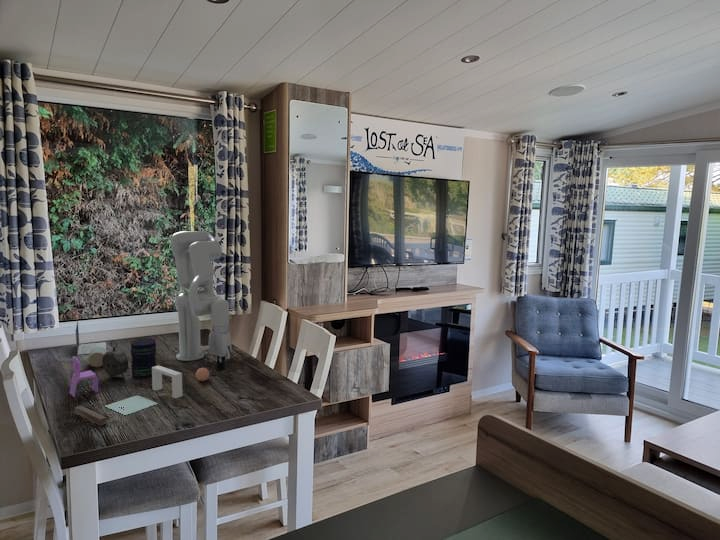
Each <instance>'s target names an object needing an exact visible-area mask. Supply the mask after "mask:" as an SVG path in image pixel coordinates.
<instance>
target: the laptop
mask: <svg viewBox="0 0 720 540" xmlns="http://www.w3.org/2000/svg"><path fill="white" fill-rule="evenodd" d="M79 335H80V334H79V321H76V325H75V343H76V355H77V356H84V355H85V354H86V355H89V354H90V351H91V350H92V349H93V348H95V347H103V348H105V349H106V350H107V342H106V341H104V342H93V343H92V342H91V343H81V344H80V336H79Z"/></svg>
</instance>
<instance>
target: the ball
mask: <svg viewBox="0 0 720 540" xmlns="http://www.w3.org/2000/svg"><path fill="white" fill-rule="evenodd" d="M209 377H210V370H208V369H207V368H206V367H200V368H198V369H197V370H196V372H195V378H196V379H197V381H200V382H205V381H207V380H209Z"/></svg>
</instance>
